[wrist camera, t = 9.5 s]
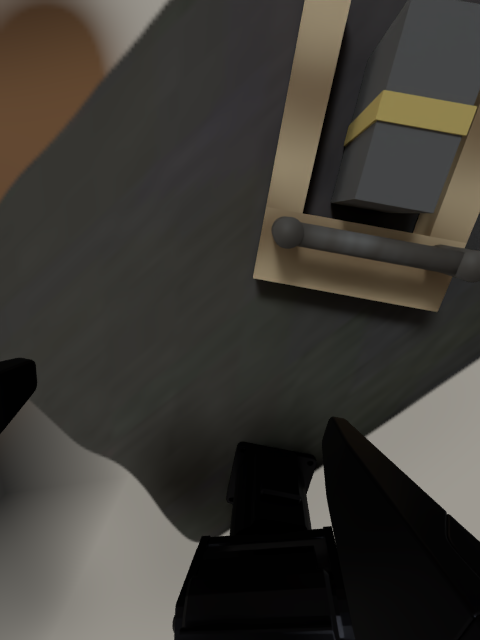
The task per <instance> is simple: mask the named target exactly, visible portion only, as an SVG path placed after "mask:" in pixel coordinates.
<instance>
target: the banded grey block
mask: <svg viewBox="0 0 480 640" xmlns="http://www.w3.org/2000/svg"><path fill="white" fill-rule="evenodd" d="M479 90H480V4H476V3H471V2H465V1H459V0H408V1H407V3H406V4H405V5H404V7H403V8H402V10H401V11H400V13H399V14H398V16H397V17H396V19H395V20H394V22H393V23H392V25H391V26H390V28H389V29H388V31H387V32H386V34H385V35H384V37H383V38H382V39H381V41H380V42H379V44H378V45H377V47H376V48H375V50H374V51H373V53H372V54H371V56H370V57H369V59H368V61H367V65H366V69H365V73H364V76H363V80H362V84H361V88H360V92H359V96H358V100H357V103H356V107H355V111H354V115H353V119H352V123H351V124H350V125H349V127H348V131H347V135H346V139H345V143H344V146H345V150H344V154H343V158H342V161H341V165H340V169H339V173H338V177H337V181H336V185H335V189H334V192H333V196H332V200H331V203H335V204H340V205H346V206H351V207H357V208H362V209H368V210H373V211H379V212H384V213H434V210H435V208H436V205H437V202H438V200H439V197H440V194H441V192H442V189H443V186H444V184H445V181H446V178H447V176H448V173H449V170H450V168H451V165H452V162H453V160H454V157H455V154H456V152H457V149H458V146H459V144H460V141H461V138H462V137H464V136H466V135H467V133H468V130H469V127H470V125H471V122H472V120H473V117H474V114H475V112H476V109H477V106H474V103H475V101H476V98H477V95H478V93H479Z"/></svg>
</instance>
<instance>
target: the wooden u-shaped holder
mask: <svg viewBox="0 0 480 640" xmlns="http://www.w3.org/2000/svg"><path fill="white" fill-rule="evenodd" d="M350 3H351V0H305V2H304V7H303V13H302V18H301V23H300V29H299V34H298V39H297V45H296V50H295V55H294V61H293V66H292V71H291V77H290V82H289V88H288V93H287V98H286V104H285V109H284V114H283V120H282V125H281V130H280V136H279V141H278V146H277V152H276V157H275V162H274V168H273V173H272V178H271V184H270V189H269V194H268V200H267V205H266V210H265V216H264V221H263V226H262V232H261V237H260V242H259V248H258V253H257V259H256V264H255V269H254V275H253V278H255V279H260V280H266V281H271V282H277V283H282V284H287V285H293V286H298V287H304V288H309V289H315V290H320V291H326V292H331V293H336V294H342V295H347V296H353V297H358V298H364V299H369V300H374V301H380V302H385V303H391V304H396V305H402V306H407V307H413V308H418V309H423V310H429V311H434V312H438V310H439V307H440V305H441V302H442V300H443V298H444V295H445V293H446V291H447V288H448V286H449V283H450V281H451V279H452V277H455V278H458V279H461V280H464V281H467V282H478V281H480V251H476V250H470V249H465V245H466V243H467V241H468V238H469V236H470V234H471V231H472V229H473V226H474V224H475V222H476V219H477V217H478V215H479V212H480V90H479V93H478V95H477V98H476V101H475V103H474V106H477V109H476V112H475V114H474V117H473V120H472V122H471V125H470V127H469V130H468V133H467V135H466V136H464V137H462V138H461V141H460V144H459V146H458V149H457V152H456V154H455V157H454V160H453V162H452V165H451V168H450V170H449V173H448V176H447V178H446V181H445V184H444V186H443V189H442V192H441V194H440V197H439V200H438V202H437V205H436V208H435V210H434V213H420V215H419V217H418V220H417V223H416V226H415V229H414V231H413V233H408V232H403V231H397V230H392V229H386V228H381V227H375V226H370V225H364V224H358V223H353V222H347V221H342V220H336V219H331V218H325V217H320V216H314V215H309V214H303V209H304V204H305V200H306V196H307V191H308V187H309V182H310V178H311V174H312V169H313V165H314V161H315V156H316V152H317V147H318V143H319V139H320V134H321V130H322V125H323V121H324V117H325V112H326V108H327V104H328V99H329V95H330V90H331V86H332V82H333V77H334V73H335V68H336V64H337V60H338V55H339V51H340V47H341V42H342V38H343V33H344V29H345V25H346V20H347V16H348V11H349V7H350Z"/></svg>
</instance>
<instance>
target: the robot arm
mask: <svg viewBox="0 0 480 640" xmlns="http://www.w3.org/2000/svg"><path fill="white" fill-rule="evenodd" d="M36 387H37V375H36V364H35V362H34V361H33V360H30V359H25V358H15V359H10V360H5V361H1V362H0V434H1V432H2V431H3V430H4V429H5V428H6V426H7V425H8V424H9V423H10V421H11V420H12V419H13V418H14V417H15V415H16V414H17V412H19V410H20V409H21V408H22V406H23V405H24V404H25V403H26V402H27V400H28V399H29V398H30V397H31V395H32V394H33V393H34V391H35V390H36ZM241 448H245V449H241ZM322 453H323V464H324V475H325V486H326V495H327V502H328V507H329V512H330V517H331V522H332V527H333V531H332V527H331V526H330V527H323V529H313V530H312V529H311V522H310V516H309V510H308V503H307V497H306V494H307V491H308V488H309V485H310V482H311V479H312V476H313V473H314V470H315V467H316V458H315V457H314V456H313V455H309V454H304V453H299V452H294V451H288V450H283V449H278V448H273V447H268V446H262V445H257V444H252V443H247V442H240V443H238V445H237V448H236V453H235V458H234V463H233V467H232V472H231V477H230V482H229V486H228V491H227V497H226V500H227V502H228V503H230V504H233V509H232V518H231V527H230V536H219V537H210V536H202V537H201V540H200V542H199V545H198V548H197V549H196V552H195V555H194V557H193V560H192V563H191V566H190V568H189V571H188V573H187V576H186V579H185V581H184V584H183V587H182V589H181V592H180V595H179V597H178V600H177V603H176V608H175V616H174V619H173V631H174V633H175V634H174V640H480V541H478V540H477V539H476V538H475V537H474V536H473V535H472V534H470V533H469V532H468V531H467V530H466V529H465V528H464V527H463V526H462V525H460V524H459V523H458V522H457V521H456V520H455V519H454V518H453V517H452V516H451V515H449V514H447V513H446V511H445V510H444V509H443V508H442V507H441V506H440V505H438V504H437V503H436V502H435V501H434V500H433V499H432V498H431V497H430V496H429V495H427V493H425V492H424V491H423V490H422V489H421V488H420V487H419V486H418V485H417V484H416V483H415V482H413V481H412V480H411V479H410V478H409V477H408V476H407V475H406V474H405V473H404V472H402V471H401V470H400V469H399V468H398V467H397V466H396V465H395V464H394V463H393V462H392V461H390V460H389V459H388V458H387V457H386V456H385V455H384V454H383V453H382V452H381V451H379V450H378V449H377V448H376V447H375V446H374V445H373V444H372V443H371V442H370V441H369V440H367V439H366V438H365V437H364V436H363V435H362V434H361V433H360V432H359V431H358V430H357V429H355V428H354V427H353V426H352V425H351V424H350V423H349V422H348V421H347V420H345V419H343V418H338V417H331V418H330V419H329V421H328V424H327V427H326V430H325V433H324V436H323V439H322ZM308 461H311V462H308ZM333 532H334V535H333ZM334 537H335V539H334ZM335 542H336V543H335Z"/></svg>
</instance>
